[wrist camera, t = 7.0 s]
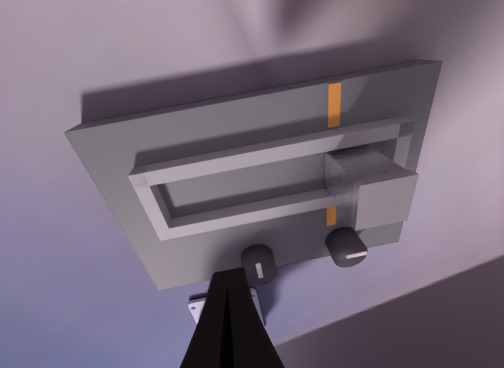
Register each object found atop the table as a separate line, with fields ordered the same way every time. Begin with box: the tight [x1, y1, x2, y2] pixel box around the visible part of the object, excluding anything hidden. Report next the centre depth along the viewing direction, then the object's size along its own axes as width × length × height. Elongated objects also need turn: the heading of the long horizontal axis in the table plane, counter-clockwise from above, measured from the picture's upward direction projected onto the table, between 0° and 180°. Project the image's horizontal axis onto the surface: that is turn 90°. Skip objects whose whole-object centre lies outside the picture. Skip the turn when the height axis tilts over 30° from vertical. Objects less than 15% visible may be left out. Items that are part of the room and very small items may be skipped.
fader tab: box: [325, 144, 419, 231], centre depth 15 cm, size 3×3×5 cm
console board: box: [64, 60, 442, 290], centre depth 18 cm, size 16×24×4 cm, turn 99°
